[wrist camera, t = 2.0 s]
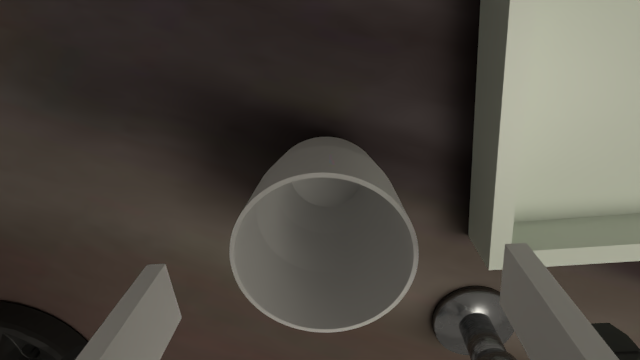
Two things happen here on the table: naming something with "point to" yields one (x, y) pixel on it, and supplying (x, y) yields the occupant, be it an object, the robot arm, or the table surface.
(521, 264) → the robot arm
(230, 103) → the table surface
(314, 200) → the cup
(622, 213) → the bin
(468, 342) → the stud post
